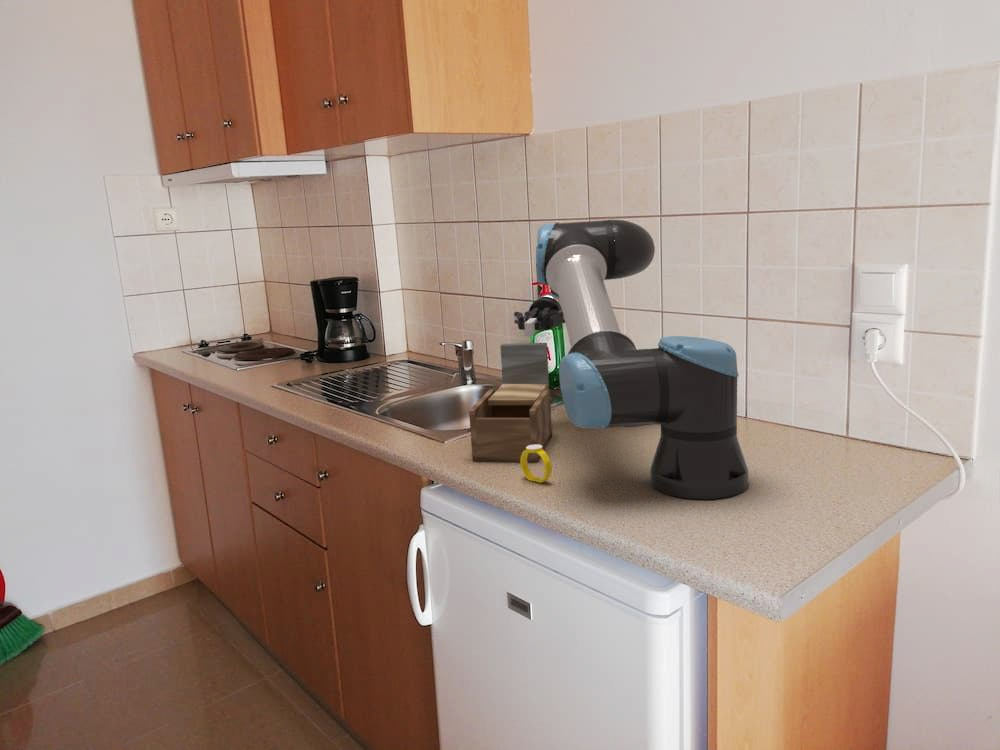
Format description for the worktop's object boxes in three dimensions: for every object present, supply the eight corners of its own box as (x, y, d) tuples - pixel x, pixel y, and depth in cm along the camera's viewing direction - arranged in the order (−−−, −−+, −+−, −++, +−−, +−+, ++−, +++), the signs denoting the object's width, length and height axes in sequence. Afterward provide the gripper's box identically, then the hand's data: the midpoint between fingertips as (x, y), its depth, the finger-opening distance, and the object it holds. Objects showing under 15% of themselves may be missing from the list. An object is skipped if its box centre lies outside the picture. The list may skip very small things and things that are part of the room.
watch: (555, 482, 130) (554, 447, 129) (544, 487, 128) (542, 452, 127) (529, 474, 134) (527, 441, 133) (518, 479, 132) (516, 445, 131)
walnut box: (537, 462, 140) (535, 410, 138) (472, 461, 143) (469, 410, 141) (551, 435, 155) (549, 388, 153) (492, 435, 158) (489, 389, 156)
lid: (536, 405, 147) (533, 357, 145) (488, 405, 149) (485, 358, 147) (549, 386, 161) (546, 342, 159) (505, 386, 163) (502, 343, 161)
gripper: (574, 326, 187) (559, 346, 164) (520, 328, 190) (499, 347, 167) (573, 295, 185) (558, 311, 163) (518, 297, 188) (496, 312, 166)
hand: (528, 329), depth 165 cm, fingers closed
